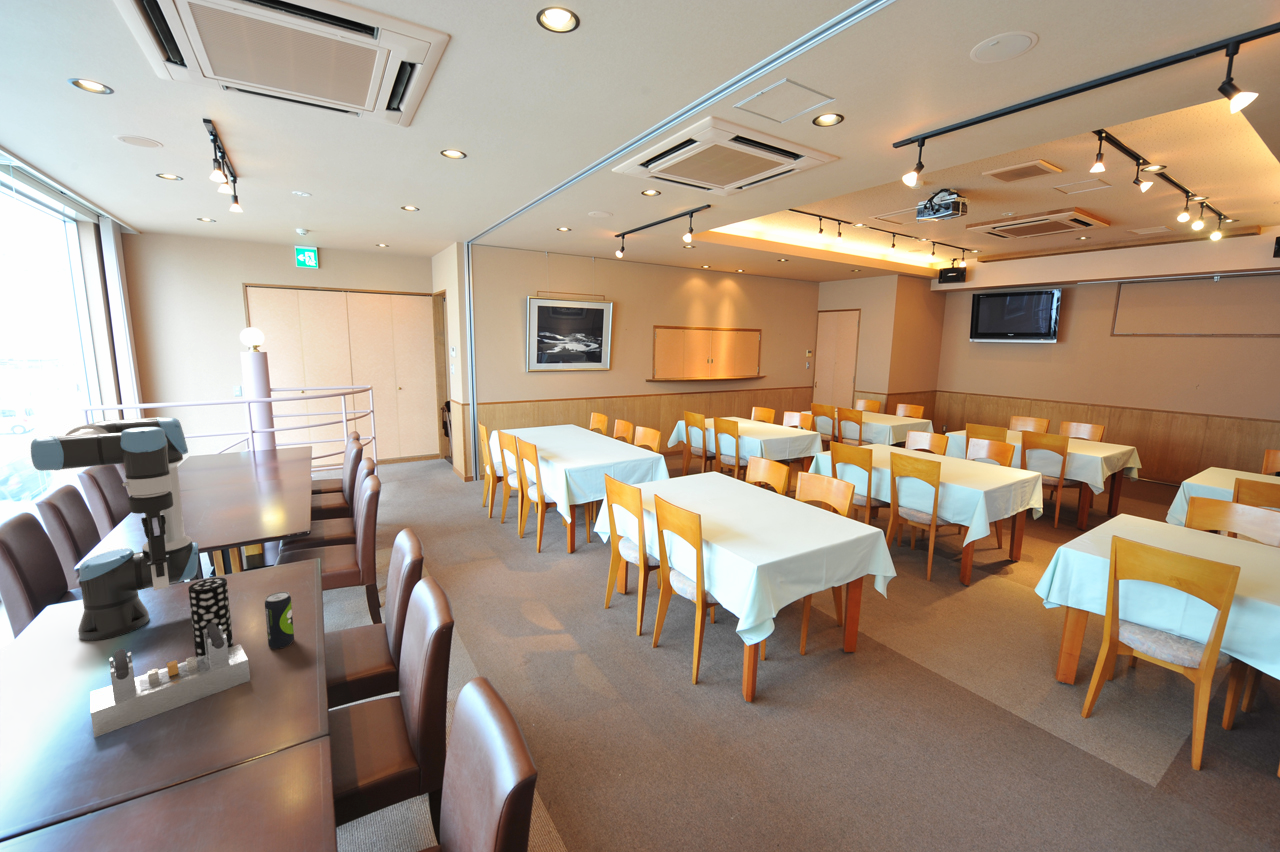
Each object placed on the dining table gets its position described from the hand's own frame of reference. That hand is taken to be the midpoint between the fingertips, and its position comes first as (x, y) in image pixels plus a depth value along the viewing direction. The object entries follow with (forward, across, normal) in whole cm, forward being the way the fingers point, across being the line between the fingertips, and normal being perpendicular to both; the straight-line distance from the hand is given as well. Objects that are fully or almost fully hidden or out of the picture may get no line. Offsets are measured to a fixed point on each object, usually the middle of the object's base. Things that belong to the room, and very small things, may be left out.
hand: (161, 587), depth 124 cm
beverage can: (+29, -7, +24) cm, 38 cm away
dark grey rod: (+17, +1, +9) cm, 19 cm away
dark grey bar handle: (+17, +1, -8) cm, 19 cm away
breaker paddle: (+22, +1, 0) cm, 22 cm away
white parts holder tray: (+29, +2, 0) cm, 29 cm away
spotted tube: (+29, -18, +10) cm, 35 cm away
